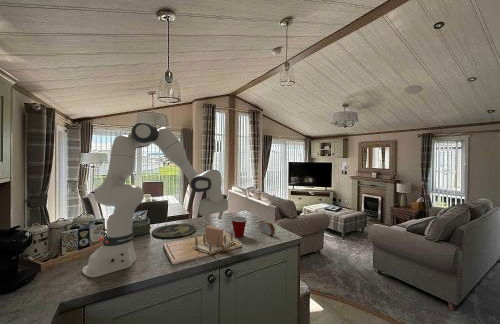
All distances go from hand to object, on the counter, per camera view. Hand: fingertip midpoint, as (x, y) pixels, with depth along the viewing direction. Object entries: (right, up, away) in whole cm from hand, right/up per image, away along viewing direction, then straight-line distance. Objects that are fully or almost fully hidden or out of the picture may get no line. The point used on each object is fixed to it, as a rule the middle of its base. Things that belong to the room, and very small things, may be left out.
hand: (214, 220), depth 133 cm
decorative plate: (-32, -15, +28) cm, 45 cm away
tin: (+32, -15, +21) cm, 41 cm away
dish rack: (0, -15, +1) cm, 15 cm away
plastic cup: (+14, -15, +17) cm, 26 cm away
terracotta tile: (0, -14, +1) cm, 13 cm away
